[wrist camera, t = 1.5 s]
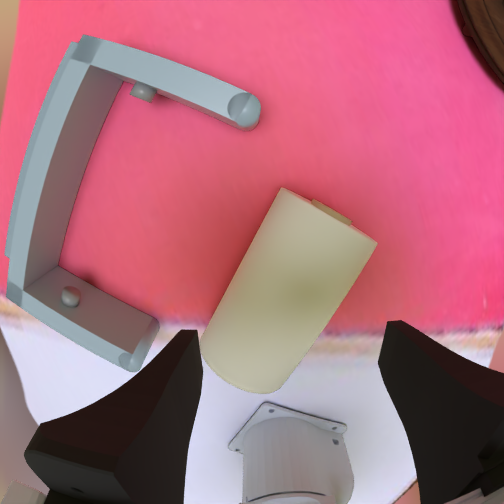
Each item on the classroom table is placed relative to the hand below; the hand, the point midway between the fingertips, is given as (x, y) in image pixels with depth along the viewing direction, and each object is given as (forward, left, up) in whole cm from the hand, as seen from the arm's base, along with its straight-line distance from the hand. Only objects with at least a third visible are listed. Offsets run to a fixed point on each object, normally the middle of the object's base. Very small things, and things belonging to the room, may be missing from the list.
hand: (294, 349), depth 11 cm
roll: (-1, +1, -8) cm, 8 cm away
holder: (+13, +1, -11) cm, 17 cm away
